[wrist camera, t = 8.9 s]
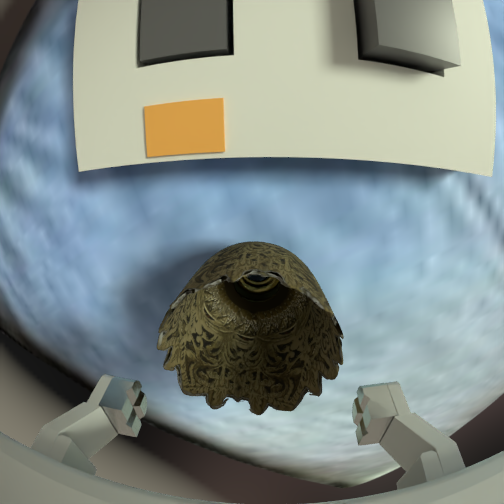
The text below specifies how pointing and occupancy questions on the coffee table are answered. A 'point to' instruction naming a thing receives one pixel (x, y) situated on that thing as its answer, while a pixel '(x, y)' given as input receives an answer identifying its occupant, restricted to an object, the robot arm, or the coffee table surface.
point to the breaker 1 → (185, 30)
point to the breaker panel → (279, 92)
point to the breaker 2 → (408, 33)
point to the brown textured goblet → (252, 330)
